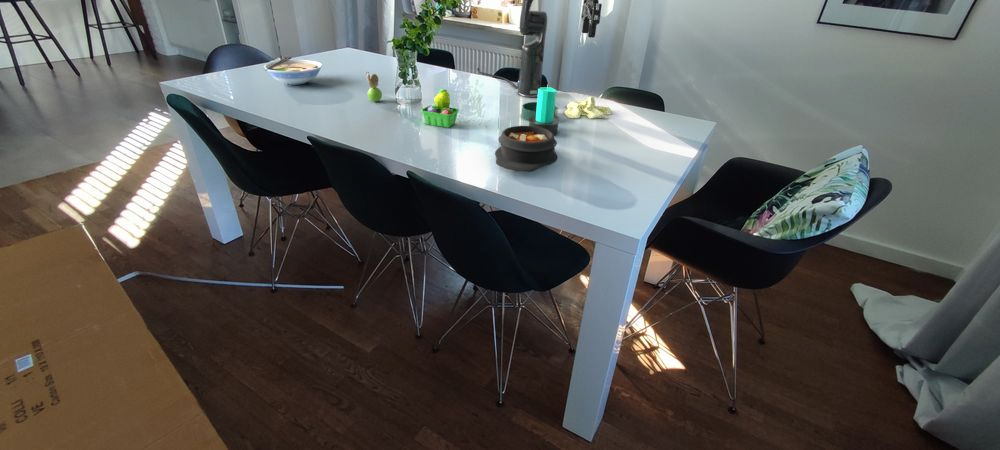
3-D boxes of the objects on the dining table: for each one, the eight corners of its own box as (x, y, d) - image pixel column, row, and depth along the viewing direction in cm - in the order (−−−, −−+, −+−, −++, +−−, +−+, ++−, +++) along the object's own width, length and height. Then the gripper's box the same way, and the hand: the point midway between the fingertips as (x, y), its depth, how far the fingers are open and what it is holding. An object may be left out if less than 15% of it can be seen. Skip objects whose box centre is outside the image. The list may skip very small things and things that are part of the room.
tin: (515, 114, 181) (515, 104, 179) (543, 110, 187) (544, 100, 185) (534, 124, 171) (535, 114, 169) (563, 120, 177) (565, 110, 175)
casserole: (543, 182, 128) (546, 153, 124) (480, 170, 134) (481, 141, 129) (566, 152, 149) (570, 126, 144) (510, 142, 154) (512, 117, 150)
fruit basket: (420, 124, 165) (419, 91, 159) (432, 117, 172) (431, 86, 167) (450, 129, 162) (450, 96, 156) (461, 122, 169) (461, 90, 164)
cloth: (572, 101, 199) (574, 87, 196) (616, 109, 193) (618, 94, 189) (554, 115, 181) (556, 99, 178) (601, 124, 175) (604, 107, 172)
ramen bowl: (312, 91, 194) (309, 71, 190) (256, 89, 194) (252, 68, 190) (332, 77, 216) (329, 58, 212) (281, 75, 216) (278, 56, 212)
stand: (521, 128, 166) (522, 117, 164) (546, 124, 171) (547, 113, 169) (538, 138, 159) (539, 126, 157) (564, 134, 163) (565, 122, 161)
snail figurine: (363, 102, 185) (360, 70, 178) (373, 98, 190) (370, 67, 184) (375, 104, 183) (372, 72, 177) (385, 100, 188) (382, 69, 182)
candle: (541, 123, 160) (544, 87, 153) (532, 118, 164) (535, 83, 158) (556, 121, 162) (560, 86, 156) (547, 116, 167) (550, 81, 161)
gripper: (578, -21, 159) (572, 31, 167) (589, -18, 146) (582, 38, 155) (600, -20, 159) (593, 32, 168) (613, -17, 147) (604, 39, 155)
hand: (588, 35), depth 161 cm, fingers open, 8 cm apart
